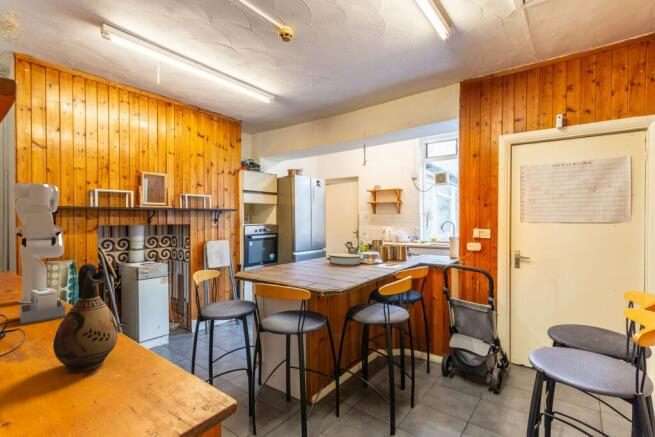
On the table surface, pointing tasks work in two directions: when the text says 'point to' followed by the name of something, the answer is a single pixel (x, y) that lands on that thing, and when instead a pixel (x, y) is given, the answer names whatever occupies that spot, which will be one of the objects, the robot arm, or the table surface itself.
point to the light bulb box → (43, 299)
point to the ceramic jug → (86, 326)
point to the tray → (41, 313)
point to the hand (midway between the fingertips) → (39, 246)
